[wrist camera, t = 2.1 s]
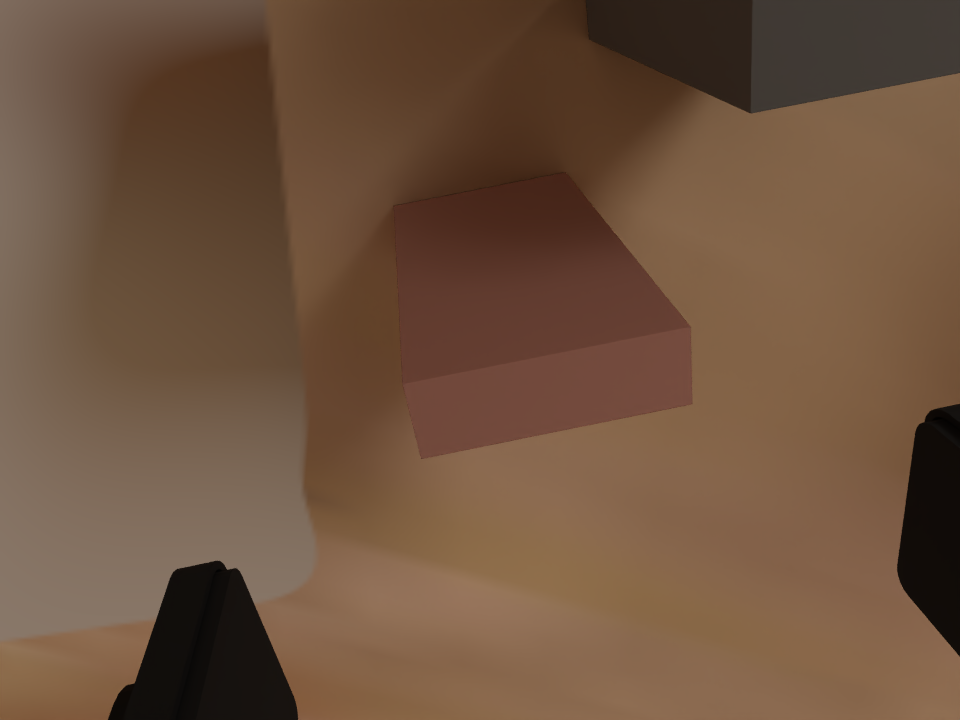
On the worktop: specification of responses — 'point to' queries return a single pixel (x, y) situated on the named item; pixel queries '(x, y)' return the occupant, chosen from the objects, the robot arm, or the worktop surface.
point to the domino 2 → (783, 44)
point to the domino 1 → (528, 318)
